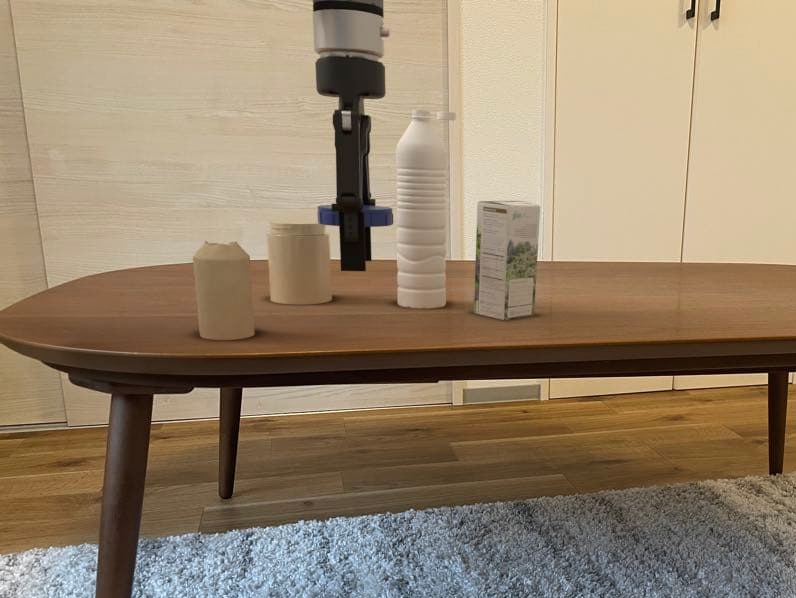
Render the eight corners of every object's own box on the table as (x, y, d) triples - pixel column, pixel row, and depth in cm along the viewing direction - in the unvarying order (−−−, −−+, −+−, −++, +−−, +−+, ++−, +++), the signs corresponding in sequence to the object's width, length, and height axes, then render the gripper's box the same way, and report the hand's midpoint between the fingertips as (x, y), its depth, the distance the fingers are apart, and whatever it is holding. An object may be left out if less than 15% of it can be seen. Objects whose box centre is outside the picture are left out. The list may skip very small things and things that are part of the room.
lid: (360, 220, 97) (360, 204, 96) (407, 225, 92) (407, 208, 91) (303, 222, 90) (302, 205, 90) (350, 228, 85) (349, 210, 85)
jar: (294, 308, 100) (290, 224, 97) (258, 299, 104) (253, 219, 101) (344, 301, 106) (341, 222, 103) (307, 293, 110) (304, 218, 107)
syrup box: (504, 310, 105) (507, 199, 101) (536, 317, 101) (541, 202, 97) (473, 314, 101) (475, 199, 96) (505, 322, 97) (508, 202, 93)
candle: (254, 330, 87) (247, 238, 84) (256, 340, 82) (249, 244, 79) (200, 331, 85) (192, 238, 82) (199, 342, 80) (190, 244, 77)
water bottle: (419, 311, 101) (418, 107, 94) (387, 304, 105) (384, 107, 98) (467, 305, 107) (470, 112, 100) (436, 298, 111) (436, 113, 104)
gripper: (379, 48, 76) (384, 279, 83) (389, 70, 96) (393, 255, 103) (300, 43, 75) (311, 277, 82) (327, 67, 95) (335, 254, 102)
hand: (357, 265), depth 92 cm, fingers closed on lid, 8 cm apart
